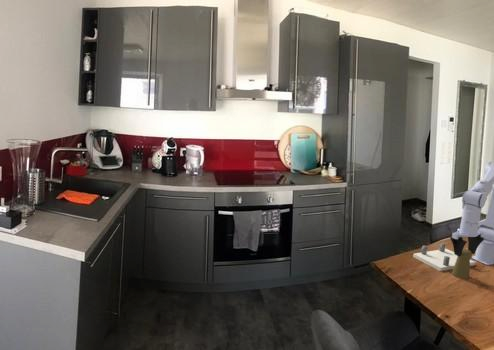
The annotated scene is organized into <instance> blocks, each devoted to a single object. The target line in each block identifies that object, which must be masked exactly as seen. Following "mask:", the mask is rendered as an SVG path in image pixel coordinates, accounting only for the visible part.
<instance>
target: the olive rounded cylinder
mask: <svg viewBox="0 0 494 350" xmlns="http://www.w3.org/2000/svg"><path fill="white" fill-rule="evenodd" d="M472 256H473V254H472V252H471V251H469V250H468V248H463V250H462V254H461V256H458V257H457V260H456V263H455V266H454V268H453V269H452V272H451V275H452V276H454V277H456V278H457V279H462V280H469V279H470V270H471V269H470V268H471V266H470V260H472Z"/></svg>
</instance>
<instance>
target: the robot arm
mask: <svg viewBox="0 0 494 350" xmlns="http://www.w3.org/2000/svg"><path fill="white" fill-rule="evenodd" d="M489 194H491V195H490V200H489V205H488V208H487V212H486V217H485V218H484V219H482V220H480V219H481V214H482V210H483V209H482V208H484V207H485V205H486V202H487V200H488V196H489ZM461 202H462V207H461V209H462V215H461V221H460V227H459V228H457V229H456V230H457V231H455V232H452V234H451V235H450V236H449V238H450V241H451V243H452V246H453V252H454V254H455V255H457V256H461V254H462V250H463V249H464V248H465V245H466V244H468V245H467V250H469V251H471V252H472V258H471V260H472V259H473V260H475V261H477V262H479V263H481V264H484V265H485V266H490V265H491V266H492V265H494V162H492V161H489V162H487V163H486V164H485V167H484V177H483V178H482V179H481V180H478V181H476V182H475V184H474V185H473V186H472V188H471V189H470V190H469V189H468V190H466V191H464V193H463V195H462V198H461ZM465 238H467V239H468V240H464V239H465ZM474 254H475V255H474Z"/></svg>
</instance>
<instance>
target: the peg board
mask: <svg viewBox="0 0 494 350" xmlns="http://www.w3.org/2000/svg"><path fill="white" fill-rule="evenodd" d="M446 245H447V244H445V243H444V242H441V243H440V245H439V249H436V250H430V251H429V250H428V246H427V245H422V247H421V252H416V253H413V255H412V257H413V258H414V259H416V260H418V261H420V262H423V263H424V264H425V265H428V266H430V267H431V268H433V269H435V270H437V271H439V272H444V271H449V270H453V268H454V266H455V263H456V260H457V257H458V256H457V255H455V254H454V251H453V250H450V249H448V248H446ZM475 265H476V261H474V260H472V259H470V267H472V266H475Z"/></svg>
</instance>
